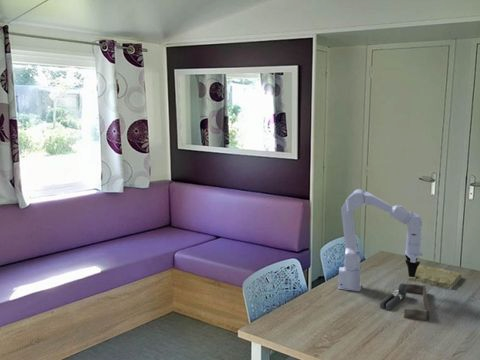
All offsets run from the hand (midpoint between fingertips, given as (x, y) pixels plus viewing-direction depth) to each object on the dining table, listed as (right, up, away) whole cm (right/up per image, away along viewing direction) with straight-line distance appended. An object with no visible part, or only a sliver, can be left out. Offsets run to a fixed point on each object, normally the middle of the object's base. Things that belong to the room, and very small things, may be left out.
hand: (411, 273), depth 209 cm
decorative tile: (+18, -7, +21) cm, 28 cm away
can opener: (-9, -11, -5) cm, 15 cm away
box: (-1, -11, -8) cm, 14 cm away
